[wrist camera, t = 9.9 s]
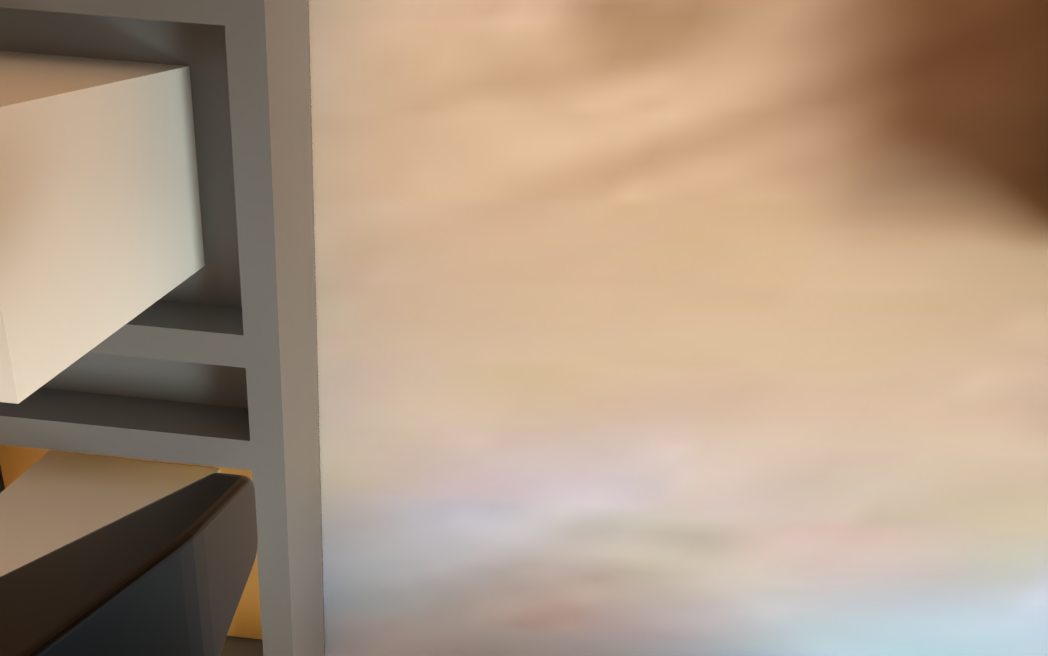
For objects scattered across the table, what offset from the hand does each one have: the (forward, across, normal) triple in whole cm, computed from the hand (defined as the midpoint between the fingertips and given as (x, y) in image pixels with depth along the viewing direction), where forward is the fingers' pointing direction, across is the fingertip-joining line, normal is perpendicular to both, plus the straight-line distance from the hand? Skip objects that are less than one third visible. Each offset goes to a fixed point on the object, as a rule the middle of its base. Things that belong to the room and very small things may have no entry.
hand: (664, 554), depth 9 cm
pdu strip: (+12, +12, +4) cm, 17 cm away
